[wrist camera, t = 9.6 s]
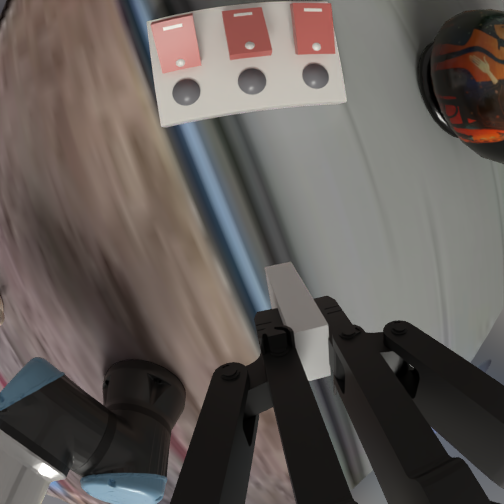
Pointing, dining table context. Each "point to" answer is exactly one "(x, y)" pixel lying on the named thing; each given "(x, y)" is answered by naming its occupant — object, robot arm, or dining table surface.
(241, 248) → the dining table surface
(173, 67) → the rocker
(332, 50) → the rocker
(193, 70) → the power strip
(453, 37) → the amphora vase
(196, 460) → the robot arm
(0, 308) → the teacup with lid
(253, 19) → the rocker
